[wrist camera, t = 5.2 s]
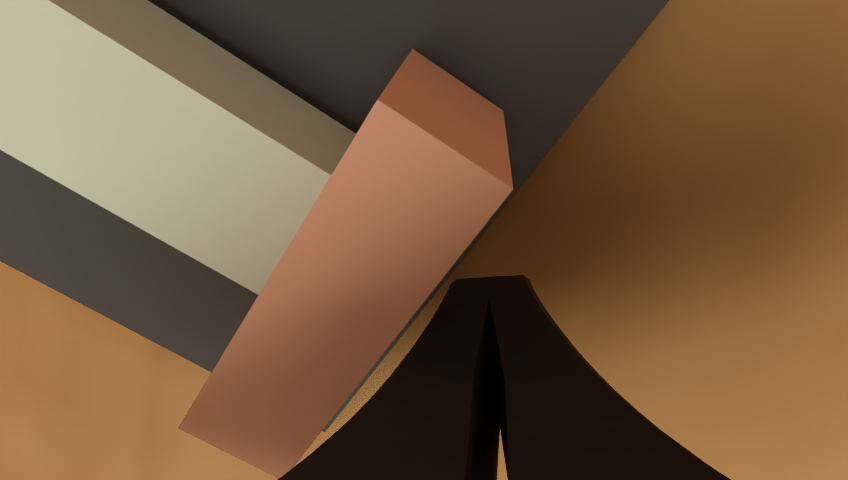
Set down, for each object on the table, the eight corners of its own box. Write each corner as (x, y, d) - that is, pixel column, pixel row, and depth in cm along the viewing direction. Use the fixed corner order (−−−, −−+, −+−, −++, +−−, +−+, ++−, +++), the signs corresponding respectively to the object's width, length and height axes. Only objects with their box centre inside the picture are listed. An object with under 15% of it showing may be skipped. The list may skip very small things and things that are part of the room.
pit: (671, -14, 9) (678, -12, 9) (328, 420, 14) (325, 432, 14) (99, -462, 8) (80, -482, 7) (-62, 212, 13) (-77, 220, 12)
